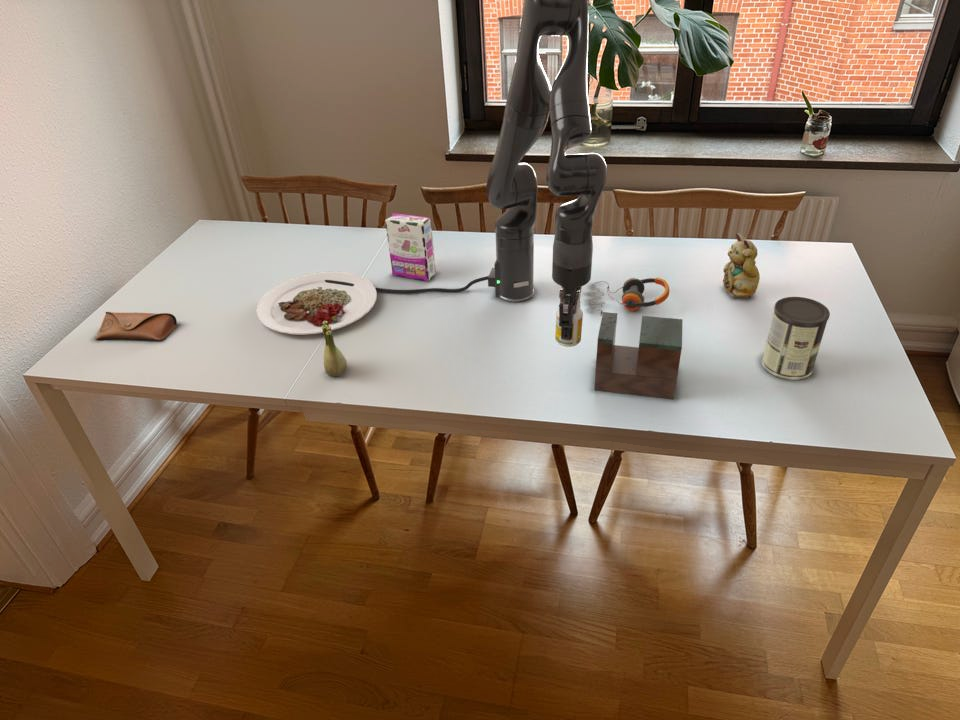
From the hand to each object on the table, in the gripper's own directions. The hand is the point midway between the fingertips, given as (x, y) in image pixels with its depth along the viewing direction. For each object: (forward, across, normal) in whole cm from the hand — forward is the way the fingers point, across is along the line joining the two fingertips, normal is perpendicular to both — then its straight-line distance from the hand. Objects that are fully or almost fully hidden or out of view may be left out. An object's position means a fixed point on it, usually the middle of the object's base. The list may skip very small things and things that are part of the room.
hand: (568, 330), depth 141 cm
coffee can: (+11, -11, +45) cm, 48 cm away
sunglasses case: (+12, +4, -106) cm, 106 cm away
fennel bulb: (+11, +10, -50) cm, 52 cm away
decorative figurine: (+11, -41, +37) cm, 56 cm away
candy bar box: (+12, -36, -47) cm, 60 cm away
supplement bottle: (+3, 0, 0) cm, 3 cm away
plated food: (+12, -15, -66) cm, 68 cm away
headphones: (+11, -31, +10) cm, 34 cm away
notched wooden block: (+11, 0, +14) cm, 18 cm away
